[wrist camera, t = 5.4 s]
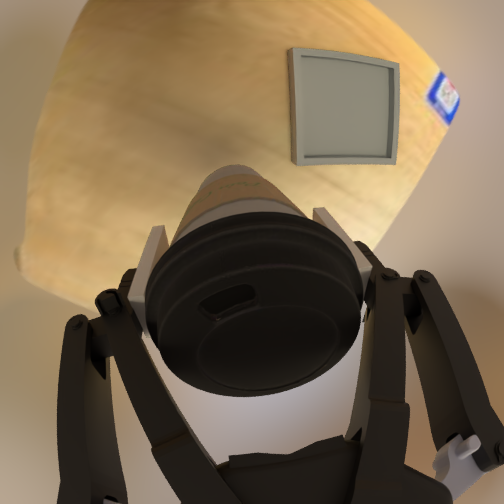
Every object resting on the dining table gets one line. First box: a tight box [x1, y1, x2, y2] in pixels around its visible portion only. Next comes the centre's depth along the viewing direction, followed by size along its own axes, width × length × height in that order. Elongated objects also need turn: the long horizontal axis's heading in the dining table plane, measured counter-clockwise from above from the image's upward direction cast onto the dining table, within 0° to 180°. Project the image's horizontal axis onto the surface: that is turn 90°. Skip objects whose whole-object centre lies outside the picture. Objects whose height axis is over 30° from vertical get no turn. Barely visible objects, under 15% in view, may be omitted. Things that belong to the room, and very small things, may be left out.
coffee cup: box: [145, 165, 364, 397], centre depth 16 cm, size 9×9×15 cm
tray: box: [288, 48, 400, 166], centre depth 32 cm, size 16×16×2 cm
